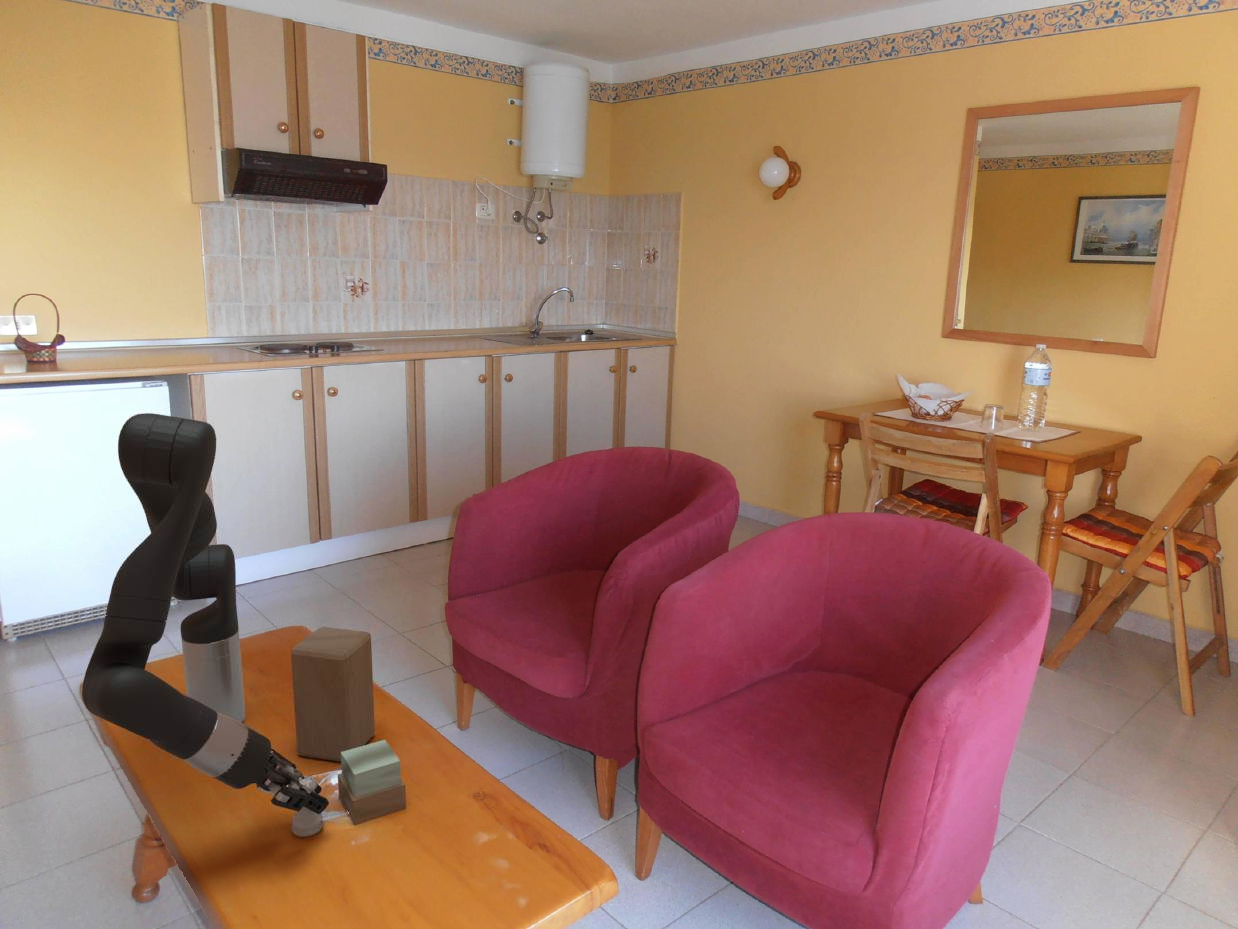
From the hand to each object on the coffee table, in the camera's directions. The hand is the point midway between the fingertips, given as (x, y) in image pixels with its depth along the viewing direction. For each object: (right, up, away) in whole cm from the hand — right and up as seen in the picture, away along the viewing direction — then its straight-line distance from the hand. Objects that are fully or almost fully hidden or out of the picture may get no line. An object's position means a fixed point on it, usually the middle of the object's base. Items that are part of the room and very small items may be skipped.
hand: (320, 800), depth 127 cm
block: (-5, +1, +22) cm, 23 cm away
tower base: (+6, -3, +7) cm, 9 cm away
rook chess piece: (-2, -4, 0) cm, 5 cm away
